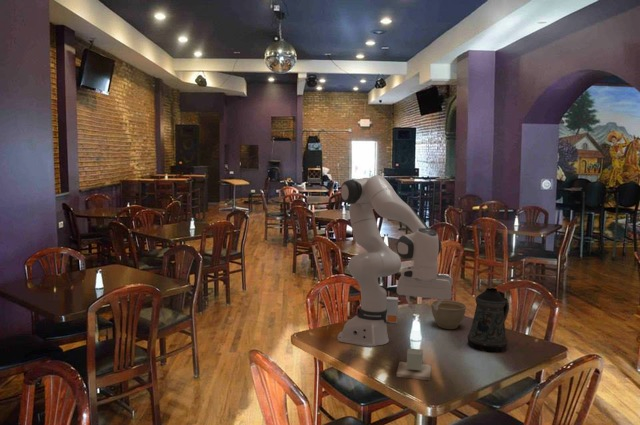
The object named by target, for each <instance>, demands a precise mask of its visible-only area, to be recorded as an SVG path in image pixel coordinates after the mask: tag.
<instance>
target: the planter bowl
mask: <svg viewBox="0 0 640 425" xmlns="http://www.w3.org/2000/svg"><path fill="white" fill-rule="evenodd" d="M437 303H438V301H437V300H435V301H432V302H431V312H432V316H433V319H434V320H435V322H436V323H437V327H439V328H441V329H445V330H455V329H457V328H458V327H459V325H460V324H461V322H462V321H463V319H464V317H465V313H466V308H467V305H466V304H465V303H463V302H460V301H457V300H451V299H449V300H444V299H441V303H440V304H439V306H438V310H434V304H435V305H436V304H437Z"/></svg>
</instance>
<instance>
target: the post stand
mask: <svg viewBox="0 0 640 425" xmlns="http://www.w3.org/2000/svg"><path fill="white" fill-rule="evenodd" d="M431 371H432V365H431V364H426V363H425V364H424V363H422V370H421V371H420V370H411V369H407V361H406V362H405V361H399V363H398V365H397V370H396V377H398V378H406V379H414V380H424V381H431V373H432V372H431Z"/></svg>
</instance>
